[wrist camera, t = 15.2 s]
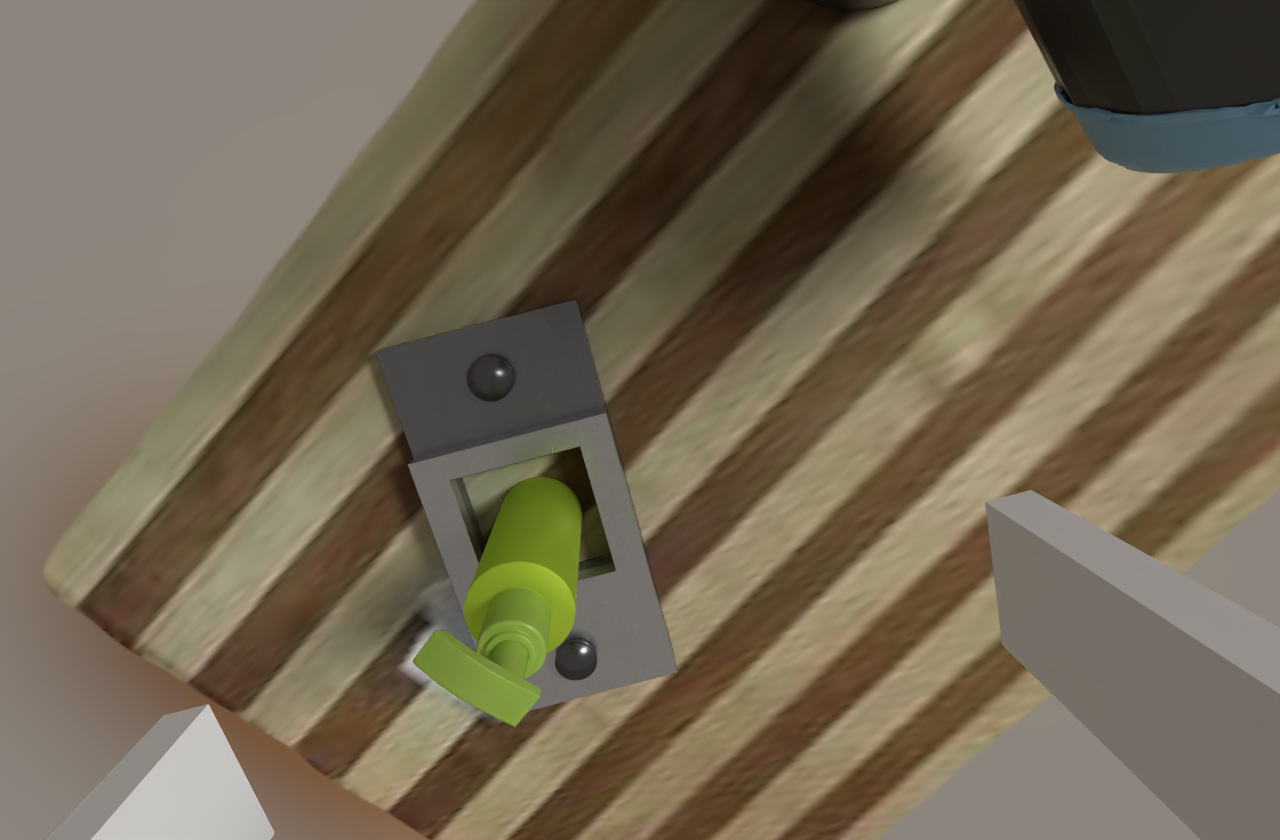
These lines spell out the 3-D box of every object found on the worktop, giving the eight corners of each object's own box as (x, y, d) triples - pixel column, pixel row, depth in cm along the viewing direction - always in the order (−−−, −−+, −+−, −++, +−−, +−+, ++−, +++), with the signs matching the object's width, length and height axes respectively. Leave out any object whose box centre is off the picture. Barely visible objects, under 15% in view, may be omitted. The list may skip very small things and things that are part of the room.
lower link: (382, 348, 43) (370, 353, 41) (576, 298, 43) (575, 300, 41) (476, 610, 48) (471, 627, 46) (650, 566, 48) (652, 580, 46)
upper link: (419, 451, 45) (404, 468, 42) (605, 403, 45) (606, 416, 42) (506, 693, 50) (499, 725, 47) (673, 649, 50) (678, 679, 47)
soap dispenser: (519, 452, 46) (460, 601, 26) (598, 506, 47) (596, 685, 28) (472, 515, 47) (382, 702, 27) (551, 566, 48) (517, 778, 29)
